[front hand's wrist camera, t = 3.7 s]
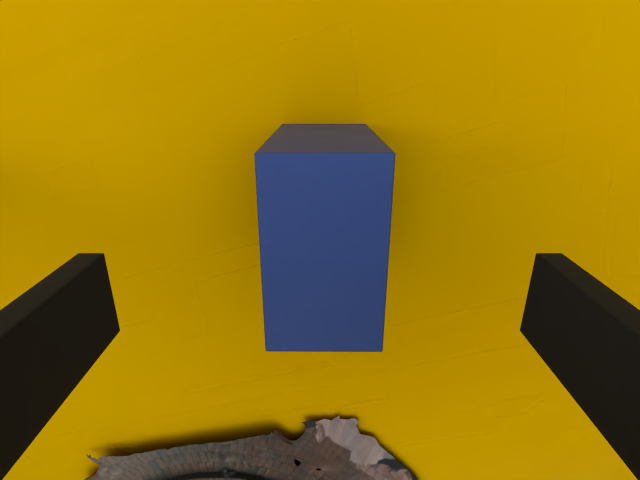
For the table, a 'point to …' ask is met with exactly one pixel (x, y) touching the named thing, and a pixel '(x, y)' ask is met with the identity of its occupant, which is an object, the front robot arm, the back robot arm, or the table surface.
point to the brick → (324, 236)
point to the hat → (265, 458)
